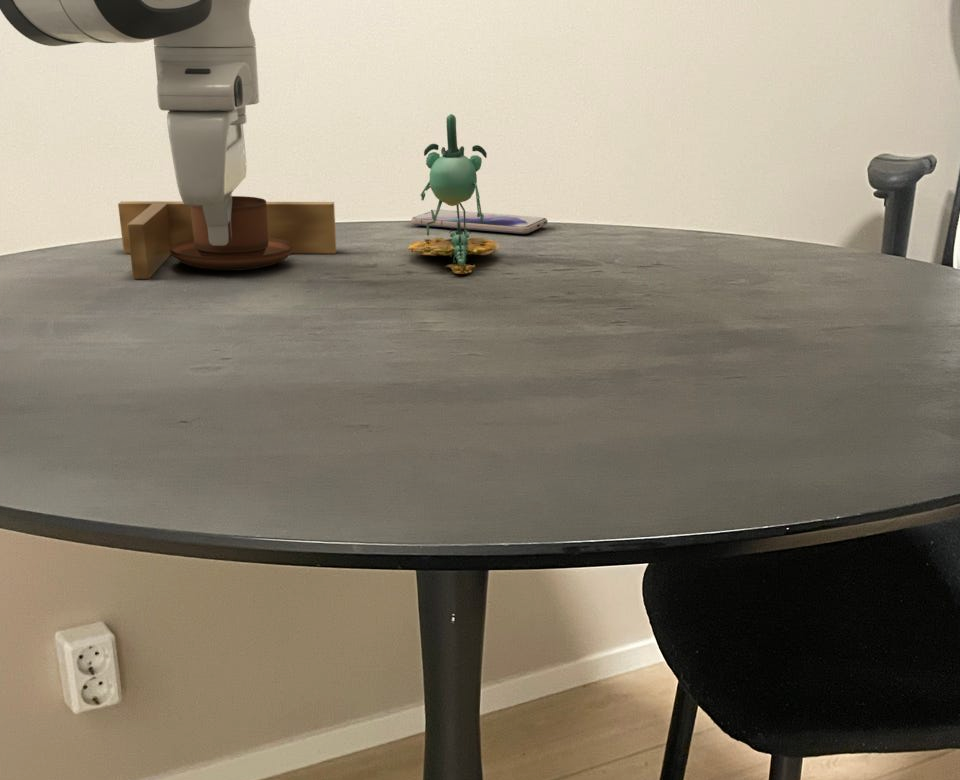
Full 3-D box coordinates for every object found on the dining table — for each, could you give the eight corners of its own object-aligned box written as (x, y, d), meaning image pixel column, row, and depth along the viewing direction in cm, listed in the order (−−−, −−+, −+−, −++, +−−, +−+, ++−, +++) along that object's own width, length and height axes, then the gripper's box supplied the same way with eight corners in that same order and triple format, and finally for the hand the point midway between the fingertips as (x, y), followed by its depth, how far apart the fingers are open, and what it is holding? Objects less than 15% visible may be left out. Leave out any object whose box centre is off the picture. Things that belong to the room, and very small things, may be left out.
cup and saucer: (149, 264, 125) (142, 199, 122) (252, 251, 132) (248, 189, 129) (211, 283, 117) (205, 214, 114) (317, 268, 124) (314, 202, 121)
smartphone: (527, 227, 142) (409, 218, 147) (526, 236, 142) (409, 226, 148) (549, 217, 148) (435, 208, 153) (549, 225, 148) (435, 216, 153)
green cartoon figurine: (386, 274, 122) (384, 109, 116) (422, 262, 138) (421, 117, 133) (484, 277, 120) (486, 110, 115) (508, 264, 137) (511, 118, 132)
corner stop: (95, 279, 118) (88, 224, 116) (126, 251, 131) (120, 201, 129) (329, 279, 119) (327, 224, 117) (336, 251, 133) (334, 201, 130)
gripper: (189, 76, 121) (202, 225, 127) (152, 88, 102) (169, 262, 109) (255, 76, 121) (265, 225, 127) (230, 89, 103) (242, 262, 109)
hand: (220, 243), depth 118 cm, fingers closed
